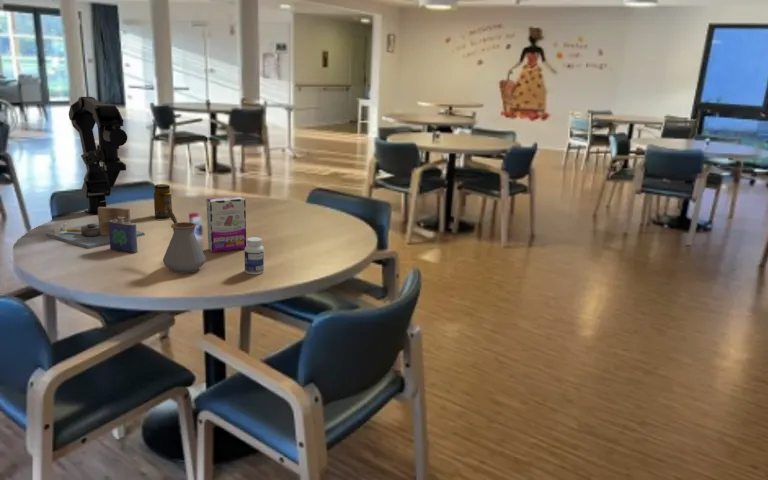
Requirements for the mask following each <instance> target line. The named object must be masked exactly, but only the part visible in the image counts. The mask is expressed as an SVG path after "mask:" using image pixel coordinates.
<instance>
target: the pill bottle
mask: <svg viewBox="0 0 768 480" xmlns="http://www.w3.org/2000/svg"><path fill="white" fill-rule="evenodd" d="M262 240H263V239H262V238H260V237H255V236H254V237H248V238H246V247H245V249H244V272H245V273H246V274H248V275H261V274H263V273H264V271H265V247H264V246H263V245H262V243H263V241H262Z"/></svg>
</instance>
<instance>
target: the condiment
mask: <svg viewBox="0 0 768 480" xmlns="http://www.w3.org/2000/svg"><path fill="white" fill-rule="evenodd" d="M153 202H154V203H153V205H154V207H153V208H154V214H151V215H150V217H152V218H153V219H155V220H157V221H168V220H169V219H170V220H172V219H171V217H170V213H169V212H166V211H168V209H167V208H166V207H167V206H169V207H172V208H171V210H172V211H173V205H172V202H173V201H172V193H171V185H170V184H167V183H165V184H162V183H159V184H155V185H154V192H153ZM164 209H165V210H164ZM175 218H176V220H178V217H176V216H175Z"/></svg>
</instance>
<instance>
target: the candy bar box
mask: <svg viewBox="0 0 768 480" xmlns="http://www.w3.org/2000/svg"><path fill="white" fill-rule="evenodd" d="M246 204H247V203H246V199H245V198H244V197H243V196H223V197H213V198H212V197H211V198H206V221H207V222H206V223H207V224H206V225H207V228H206V229H207V244H208V245H207V247H208V250H209V251H210V252H211V253H212V254H213V253H222V252H229V251H238V250H245V247H246V246H247V223H246V222H247V221H246V220H247V215H246V214H247V212H246V211H247V210H246V208H247V207H246Z"/></svg>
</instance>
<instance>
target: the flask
mask: <svg viewBox="0 0 768 480" xmlns="http://www.w3.org/2000/svg"><path fill="white" fill-rule="evenodd" d="M124 218H125V217H118V219H119V220H116V219H115V220H110V221H109V234H110V244H109V249H110V251H114V252H122V253H126V254H127V253H129V254H136V253H138V252H139V251H138V249H139V248H138V241H137V240H138V237H137V235H136V231H137V224H136V223H135V222H130V223H129V222H124Z"/></svg>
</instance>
